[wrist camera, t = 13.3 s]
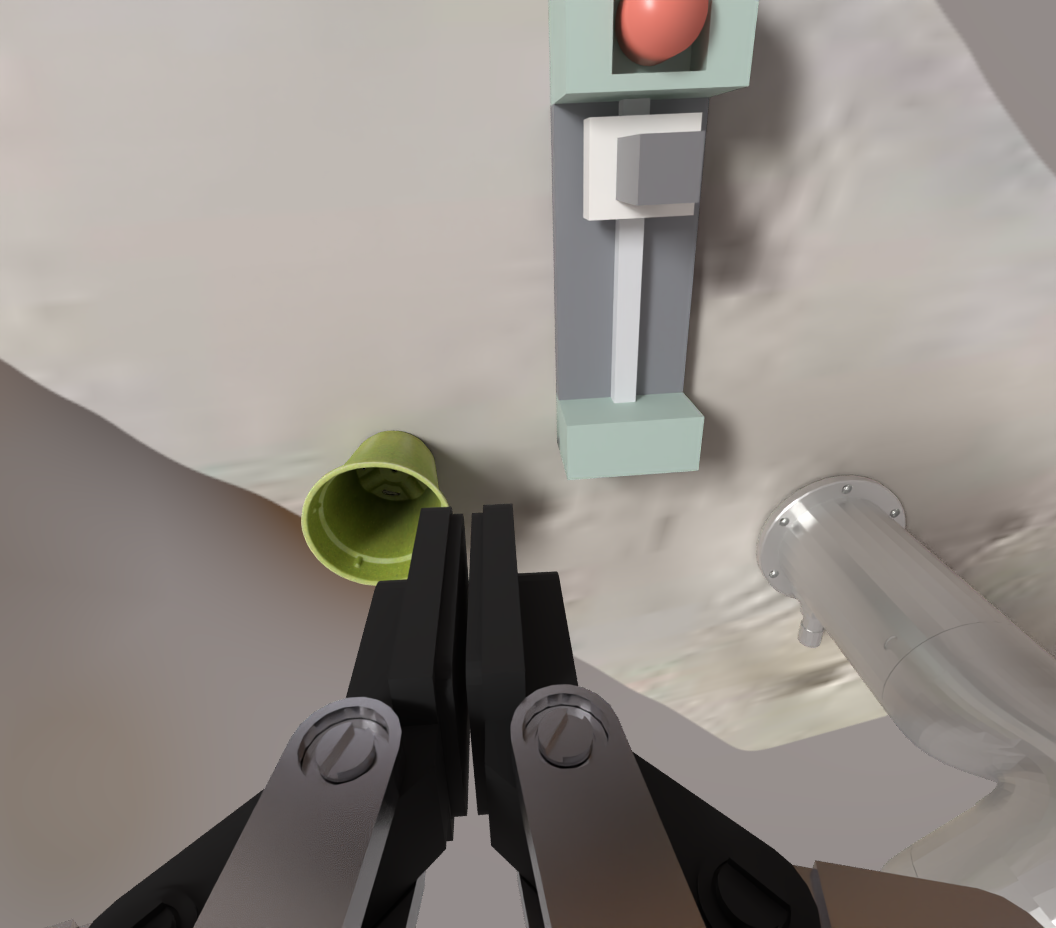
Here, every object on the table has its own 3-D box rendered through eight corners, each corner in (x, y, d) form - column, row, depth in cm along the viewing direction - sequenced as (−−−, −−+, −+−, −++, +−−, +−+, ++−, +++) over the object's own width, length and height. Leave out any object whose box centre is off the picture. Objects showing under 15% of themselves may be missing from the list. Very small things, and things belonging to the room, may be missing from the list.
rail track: (672, 434, 45) (703, 477, 38) (557, 441, 44) (569, 487, 38) (711, -30, 31) (767, -77, 25) (548, -24, 31) (565, -71, 25)
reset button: (683, 64, 29) (704, 54, 27) (613, 67, 29) (627, 57, 26) (690, -27, 27) (712, -47, 25) (616, -24, 27) (630, -44, 25)
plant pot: (336, 397, 41) (303, 451, 34) (466, 419, 43) (463, 475, 35) (329, 507, 45) (298, 577, 38) (448, 523, 47) (441, 593, 39)
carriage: (682, 212, 34) (726, 223, 28) (583, 217, 34) (605, 229, 28) (690, 115, 32) (739, 103, 26) (583, 119, 32) (608, 109, 26)
